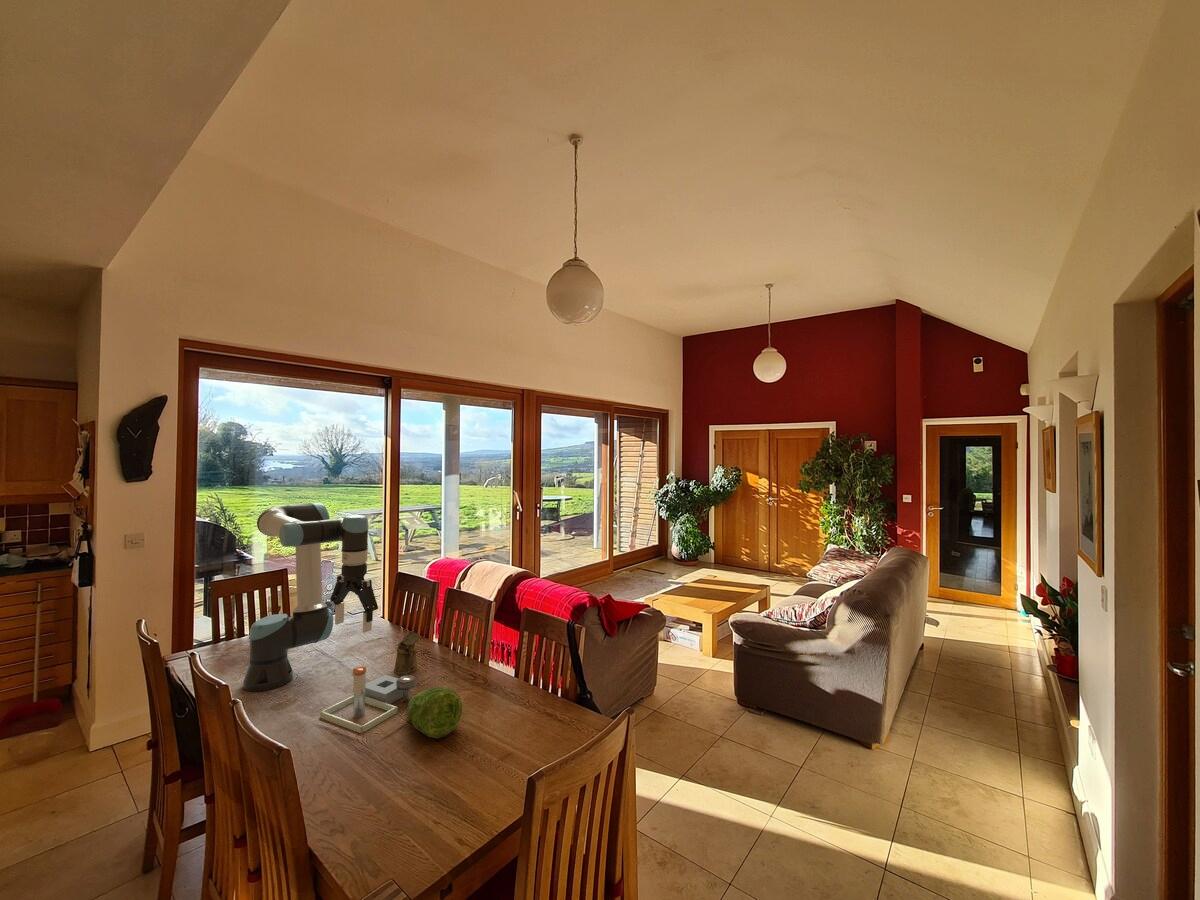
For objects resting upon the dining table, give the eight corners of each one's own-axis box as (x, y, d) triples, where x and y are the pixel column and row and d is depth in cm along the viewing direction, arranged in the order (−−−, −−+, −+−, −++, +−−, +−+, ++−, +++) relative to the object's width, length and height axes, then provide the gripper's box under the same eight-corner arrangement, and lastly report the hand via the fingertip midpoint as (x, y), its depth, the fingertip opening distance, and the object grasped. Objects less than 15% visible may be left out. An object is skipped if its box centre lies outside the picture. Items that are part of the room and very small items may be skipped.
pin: (349, 717, 156) (350, 670, 156) (360, 711, 159) (360, 665, 160) (357, 720, 154) (358, 672, 154) (368, 714, 158) (368, 667, 158)
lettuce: (433, 720, 164) (436, 677, 167) (468, 734, 147) (469, 686, 151) (391, 729, 155) (394, 684, 158) (422, 746, 138) (425, 694, 141)
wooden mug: (399, 684, 180) (400, 634, 180) (390, 670, 191) (391, 624, 191) (424, 677, 185) (424, 630, 185) (414, 665, 196) (415, 619, 196)
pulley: (391, 705, 165) (392, 680, 165) (406, 697, 171) (407, 672, 171) (405, 709, 162) (405, 684, 162) (420, 701, 168) (420, 676, 168)
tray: (320, 720, 155) (320, 711, 155) (357, 701, 167) (357, 693, 167) (361, 736, 147) (361, 727, 147) (397, 715, 159) (397, 706, 159)
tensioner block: (360, 701, 168) (360, 686, 168) (385, 688, 177) (385, 674, 177) (385, 709, 162) (385, 694, 162) (409, 696, 171) (409, 681, 171)
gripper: (319, 560, 164) (317, 623, 164) (370, 570, 153) (369, 638, 153) (339, 556, 170) (338, 616, 171) (390, 565, 159) (389, 630, 160)
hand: (353, 627), depth 162 cm, fingers open, 13 cm apart
